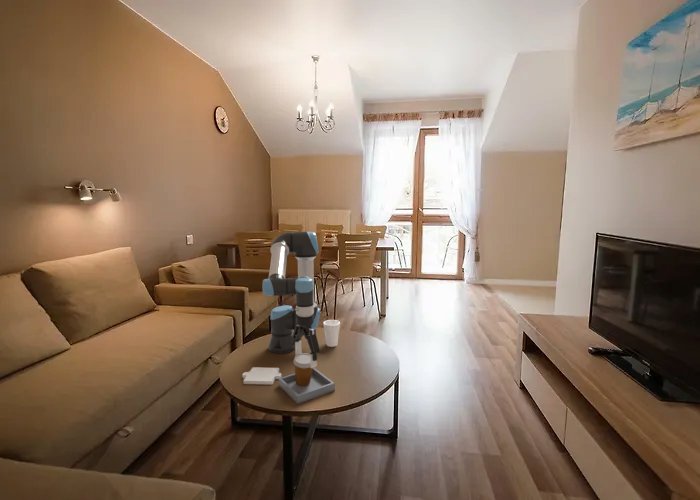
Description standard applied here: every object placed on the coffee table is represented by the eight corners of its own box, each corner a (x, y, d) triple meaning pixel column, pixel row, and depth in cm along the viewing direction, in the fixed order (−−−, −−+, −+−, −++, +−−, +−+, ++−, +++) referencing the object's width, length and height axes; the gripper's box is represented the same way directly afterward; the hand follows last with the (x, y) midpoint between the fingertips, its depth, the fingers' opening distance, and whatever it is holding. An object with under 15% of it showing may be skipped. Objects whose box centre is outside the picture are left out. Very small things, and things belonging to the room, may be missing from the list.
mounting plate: (238, 384, 163) (238, 380, 163) (247, 370, 176) (247, 367, 176) (277, 385, 162) (277, 381, 162) (284, 371, 175) (284, 368, 175)
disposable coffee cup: (310, 390, 157) (311, 366, 154) (289, 386, 158) (290, 362, 155) (316, 377, 166) (317, 354, 163) (296, 374, 167) (297, 350, 164)
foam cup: (339, 347, 202) (339, 325, 200) (323, 347, 202) (322, 325, 200) (340, 341, 211) (340, 319, 210) (324, 341, 212) (324, 319, 210)
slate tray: (278, 385, 161) (278, 378, 161) (314, 374, 172) (313, 367, 171) (297, 404, 147) (297, 396, 146) (334, 390, 157) (334, 383, 157)
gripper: (284, 308, 162) (285, 352, 166) (311, 324, 142) (312, 375, 146) (299, 305, 167) (300, 348, 170) (327, 320, 147) (328, 369, 150)
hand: (305, 361), depth 158 cm, fingers open, 13 cm apart
